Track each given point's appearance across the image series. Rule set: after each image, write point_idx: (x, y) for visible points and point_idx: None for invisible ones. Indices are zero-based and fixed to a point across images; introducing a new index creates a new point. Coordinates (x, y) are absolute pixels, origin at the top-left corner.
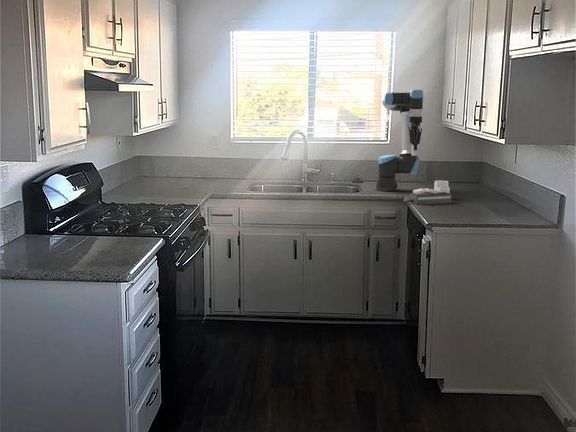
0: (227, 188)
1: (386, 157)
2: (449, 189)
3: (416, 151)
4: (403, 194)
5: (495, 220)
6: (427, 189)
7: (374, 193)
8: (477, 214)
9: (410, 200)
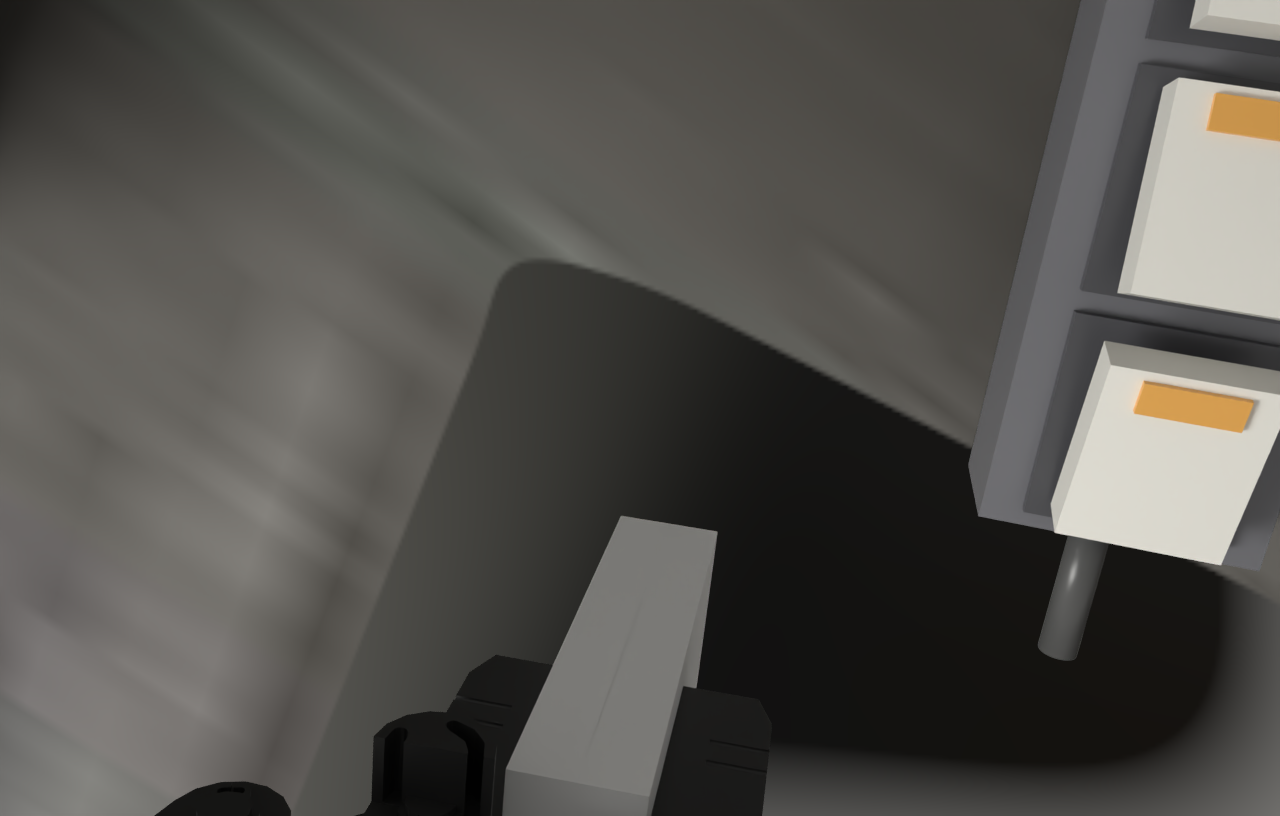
0: None
1: None
2: None
3: (692, 626)
4: (298, 92)
5: None
6: (1253, 314)
7: (93, 446)
8: None
9: (1103, 560)
